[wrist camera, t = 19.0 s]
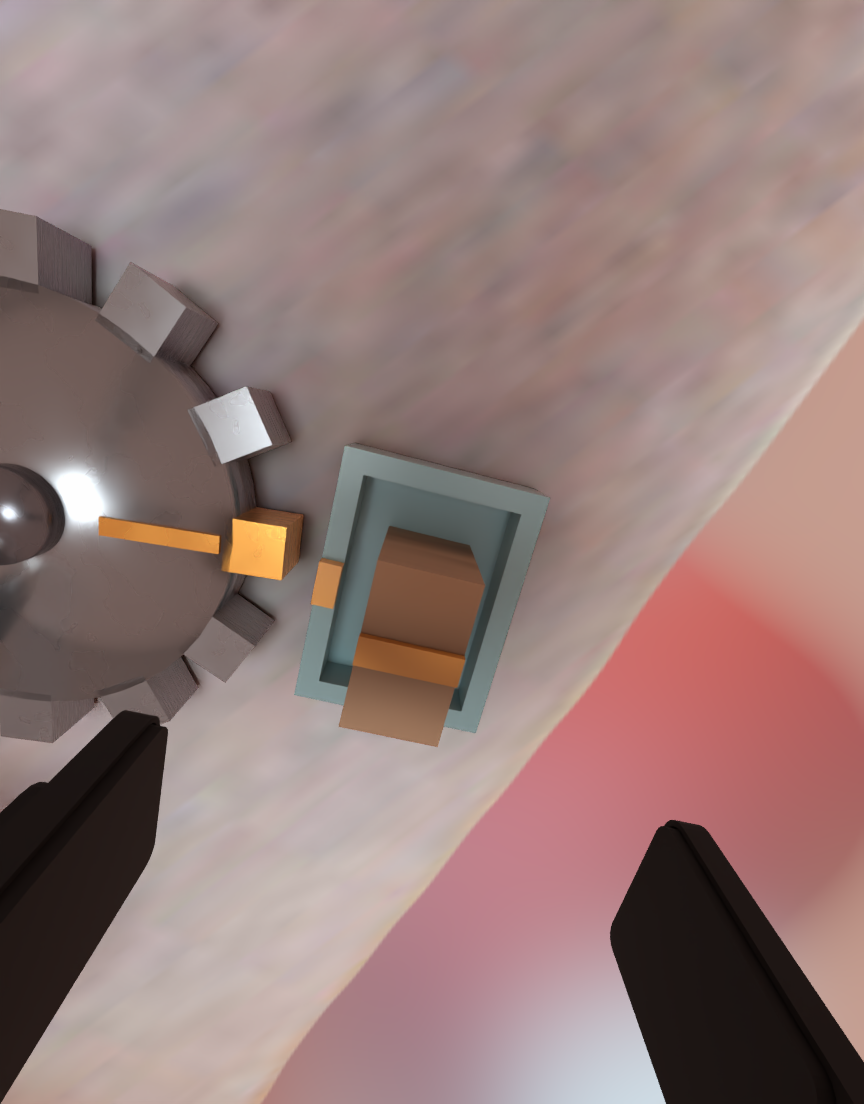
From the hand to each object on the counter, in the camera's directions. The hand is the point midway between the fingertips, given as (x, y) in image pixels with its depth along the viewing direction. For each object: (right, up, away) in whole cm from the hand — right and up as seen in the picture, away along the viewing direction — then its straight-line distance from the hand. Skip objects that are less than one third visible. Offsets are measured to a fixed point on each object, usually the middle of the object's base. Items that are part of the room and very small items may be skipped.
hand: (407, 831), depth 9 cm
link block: (0, +3, +15) cm, 15 cm away
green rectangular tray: (0, +4, +16) cm, 16 cm away
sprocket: (-17, +8, +14) cm, 24 cm away
